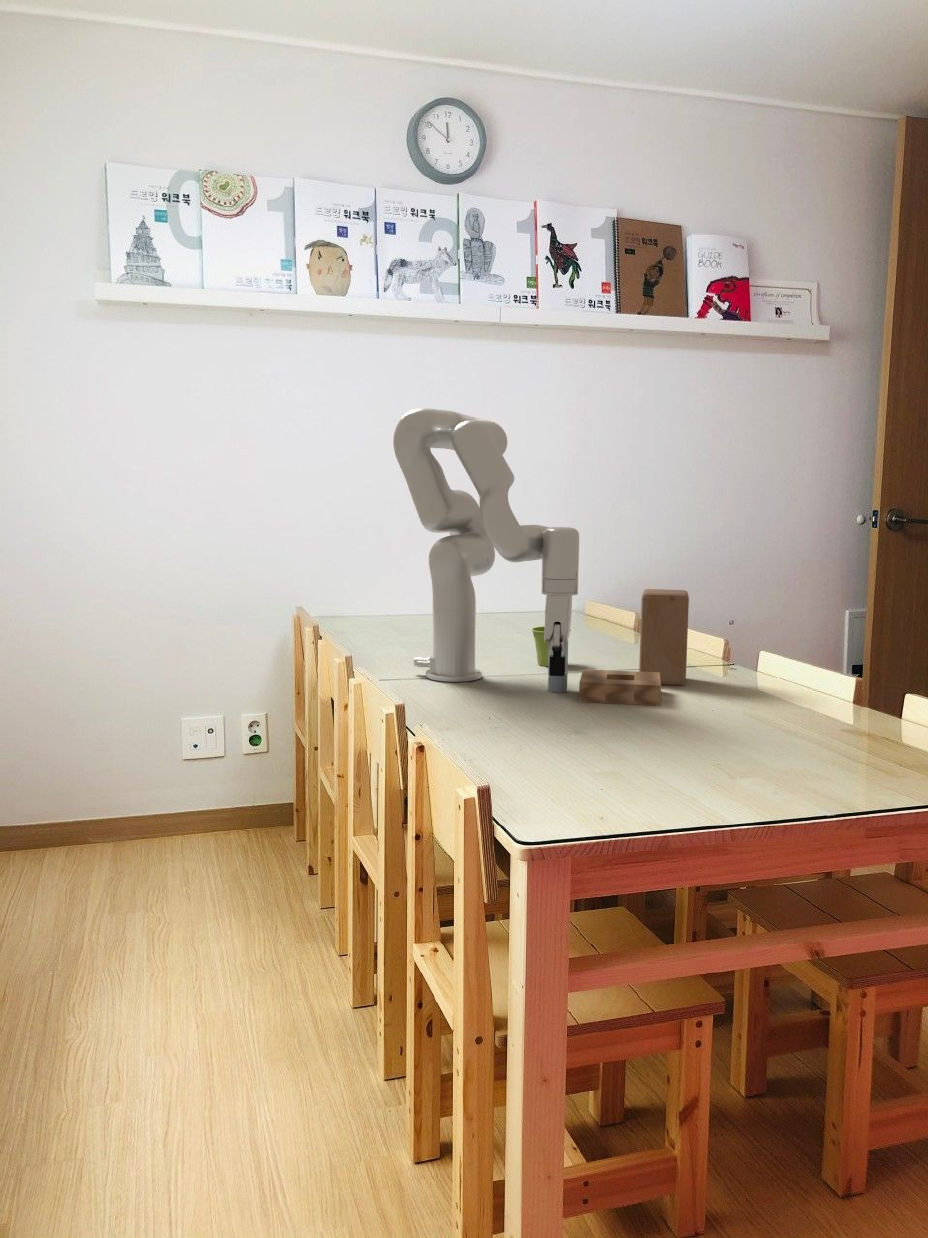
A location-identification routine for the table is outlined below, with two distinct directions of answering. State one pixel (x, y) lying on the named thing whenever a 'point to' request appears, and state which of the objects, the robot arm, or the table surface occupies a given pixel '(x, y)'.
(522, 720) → the table surface
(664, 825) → the table surface
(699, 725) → the table surface
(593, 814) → the table surface
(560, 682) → the peg
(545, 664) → the plant pot
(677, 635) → the wooden block
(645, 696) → the seat block
